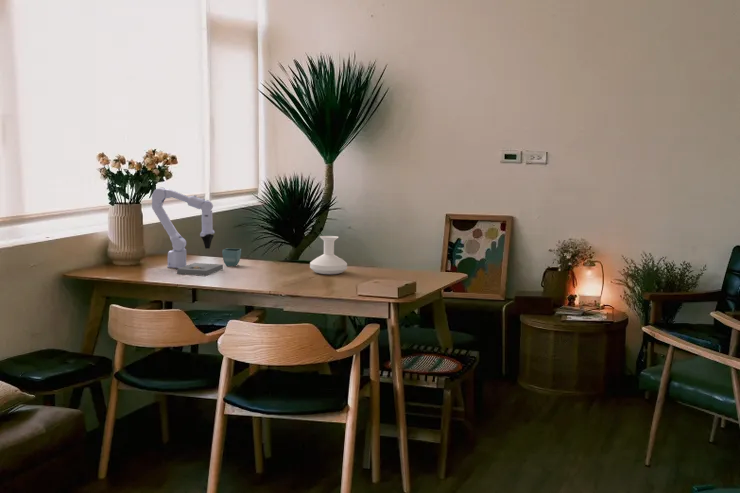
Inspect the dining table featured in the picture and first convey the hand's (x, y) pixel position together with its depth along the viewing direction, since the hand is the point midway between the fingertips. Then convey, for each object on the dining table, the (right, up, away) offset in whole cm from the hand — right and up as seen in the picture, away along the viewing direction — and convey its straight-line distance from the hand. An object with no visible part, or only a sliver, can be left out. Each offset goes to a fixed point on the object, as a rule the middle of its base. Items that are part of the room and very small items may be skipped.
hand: (207, 248), depth 437 cm
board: (-1, -12, -12) cm, 17 cm away
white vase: (+65, -13, -5) cm, 67 cm away
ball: (-2, -11, -16) cm, 20 cm away
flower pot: (+11, -10, +10) cm, 18 cm away
